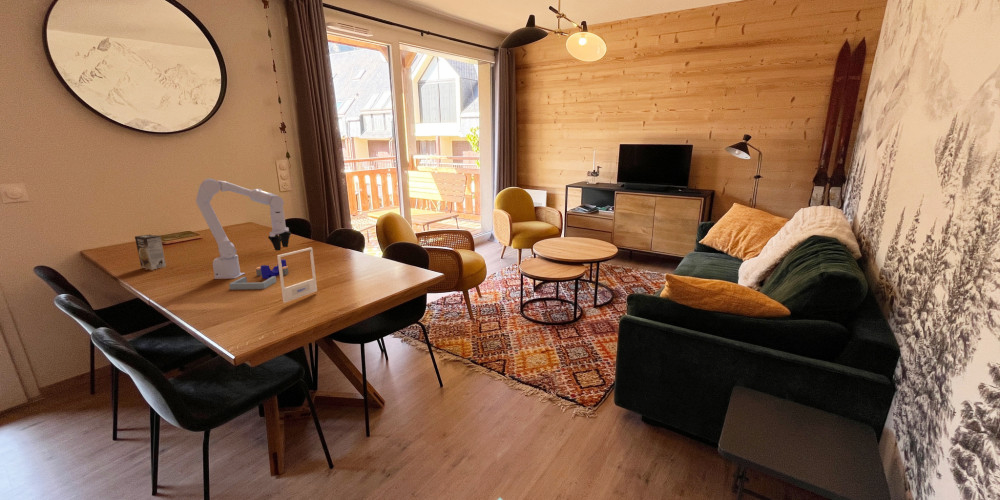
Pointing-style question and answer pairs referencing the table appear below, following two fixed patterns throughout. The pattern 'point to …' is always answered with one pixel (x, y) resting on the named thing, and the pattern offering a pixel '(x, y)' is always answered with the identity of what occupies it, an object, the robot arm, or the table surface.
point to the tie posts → (284, 269)
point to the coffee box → (150, 251)
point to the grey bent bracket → (251, 284)
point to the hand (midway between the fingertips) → (281, 248)
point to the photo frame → (299, 288)
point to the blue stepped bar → (274, 272)
